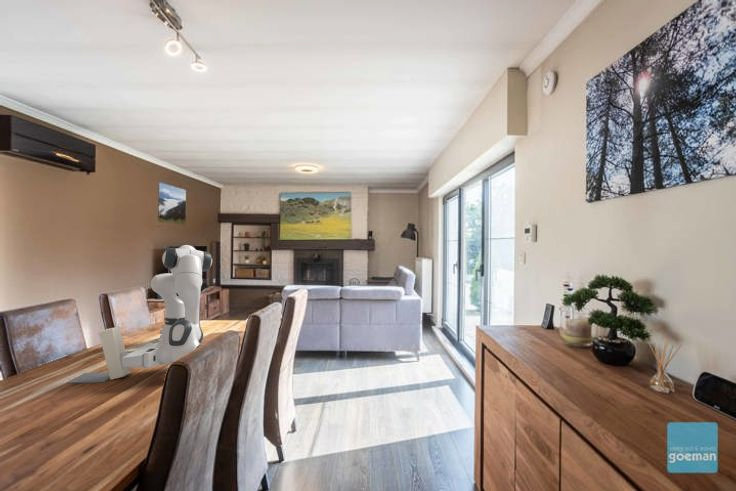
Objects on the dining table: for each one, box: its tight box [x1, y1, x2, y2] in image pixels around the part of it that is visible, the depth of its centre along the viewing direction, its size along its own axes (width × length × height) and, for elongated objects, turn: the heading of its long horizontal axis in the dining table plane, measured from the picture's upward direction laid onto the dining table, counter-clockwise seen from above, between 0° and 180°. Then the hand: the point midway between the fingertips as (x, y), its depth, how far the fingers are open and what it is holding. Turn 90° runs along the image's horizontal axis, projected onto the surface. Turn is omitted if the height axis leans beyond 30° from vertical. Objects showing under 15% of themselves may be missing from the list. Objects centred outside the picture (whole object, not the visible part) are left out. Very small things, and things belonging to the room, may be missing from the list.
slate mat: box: [65, 371, 110, 384], centre depth 138 cm, size 14×10×1 cm
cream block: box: [98, 325, 131, 380], centre depth 139 cm, size 5×5×20 cm
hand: (123, 354), depth 139 cm, fingers closed
